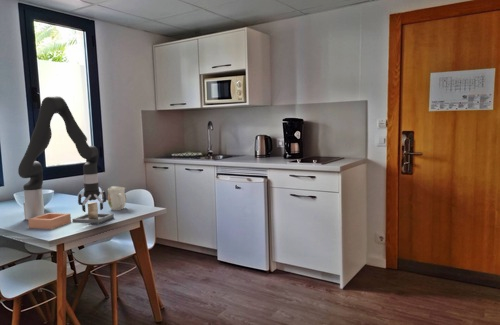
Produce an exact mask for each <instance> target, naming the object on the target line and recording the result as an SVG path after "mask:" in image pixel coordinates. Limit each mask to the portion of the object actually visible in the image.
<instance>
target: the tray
mask: <svg viewBox="0 0 500 325" xmlns="http://www.w3.org/2000/svg"><path fill="white" fill-rule="evenodd" d="M113 219H115V216H114V213H100V212H98V219H97V220H96V219H88V213H86V214H83V215H80V216H77V217H74V218H72V220H71V221H72V222H73V223H85V224H86V223H88V224H89V225H95V226H96V225H97V226H100V225H101V224H103V223H106V222H108V221H111V220H113Z"/></svg>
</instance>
